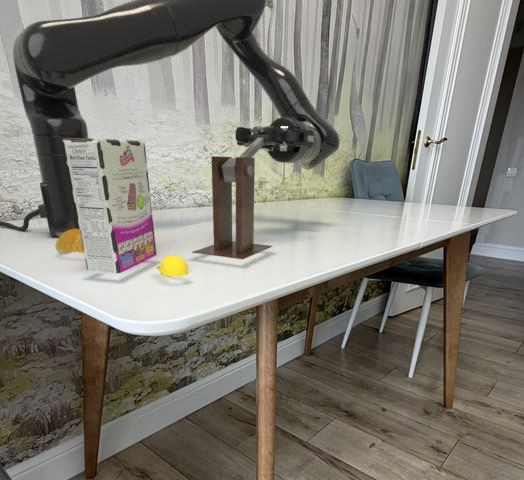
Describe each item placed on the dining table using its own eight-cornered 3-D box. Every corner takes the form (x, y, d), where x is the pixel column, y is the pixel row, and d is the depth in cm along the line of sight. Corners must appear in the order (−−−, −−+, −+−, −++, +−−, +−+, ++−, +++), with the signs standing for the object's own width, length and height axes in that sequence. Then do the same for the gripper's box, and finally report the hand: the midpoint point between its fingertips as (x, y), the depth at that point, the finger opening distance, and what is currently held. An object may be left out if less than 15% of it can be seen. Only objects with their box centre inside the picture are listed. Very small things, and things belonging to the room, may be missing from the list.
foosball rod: (251, 144, 68) (249, 130, 66) (278, 145, 66) (276, 130, 64) (216, 181, 60) (213, 166, 58) (245, 183, 58) (242, 167, 57)
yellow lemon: (178, 286, 49) (164, 260, 47) (155, 289, 53) (141, 265, 52) (197, 274, 51) (184, 248, 49) (173, 277, 55) (161, 254, 54)
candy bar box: (128, 260, 61) (113, 140, 54) (158, 262, 60) (147, 141, 53) (85, 279, 51) (59, 136, 44) (120, 282, 50) (100, 136, 43)
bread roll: (104, 261, 60) (100, 234, 58) (49, 258, 60) (43, 231, 59) (127, 250, 67) (125, 226, 65) (78, 247, 68) (73, 223, 66)
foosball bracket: (226, 247, 71) (225, 156, 65) (272, 253, 68) (275, 158, 61) (192, 259, 62) (186, 155, 56) (242, 267, 59) (243, 157, 52)
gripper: (258, 120, 78) (214, 108, 64) (328, 118, 73) (298, 105, 58) (257, 162, 81) (215, 159, 67) (325, 163, 76) (295, 161, 62)
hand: (254, 134), depth 63 cm, fingers closed on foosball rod, 5 cm apart
